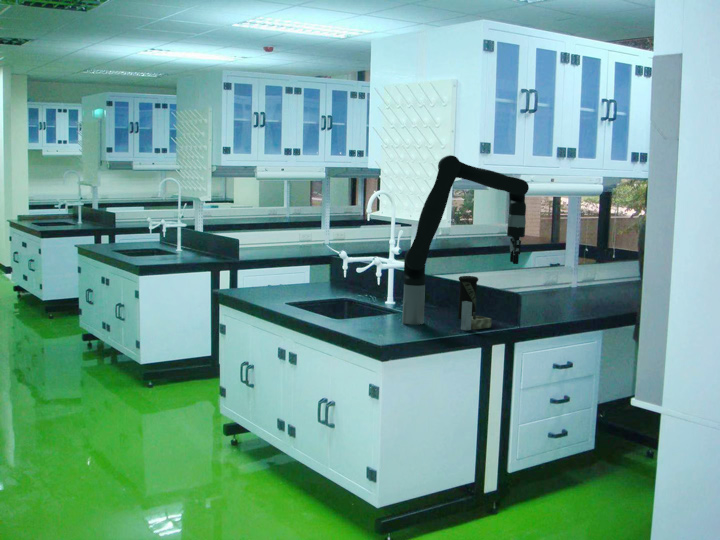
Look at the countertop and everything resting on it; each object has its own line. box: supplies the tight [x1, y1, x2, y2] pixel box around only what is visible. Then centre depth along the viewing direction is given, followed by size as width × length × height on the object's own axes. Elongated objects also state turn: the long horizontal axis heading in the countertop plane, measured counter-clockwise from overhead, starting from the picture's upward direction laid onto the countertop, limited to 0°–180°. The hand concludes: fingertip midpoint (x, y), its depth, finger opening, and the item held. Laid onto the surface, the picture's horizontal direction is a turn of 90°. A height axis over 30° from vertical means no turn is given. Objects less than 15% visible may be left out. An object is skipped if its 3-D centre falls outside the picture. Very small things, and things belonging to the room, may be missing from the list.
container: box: [457, 275, 479, 320], centre depth 345 cm, size 9×9×20 cm
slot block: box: [471, 311, 492, 330], centre depth 326 cm, size 10×8×7 cm
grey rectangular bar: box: [460, 301, 472, 331], centre depth 319 cm, size 3×3×12 cm
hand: (514, 263), depth 328 cm, fingers open, 8 cm apart
